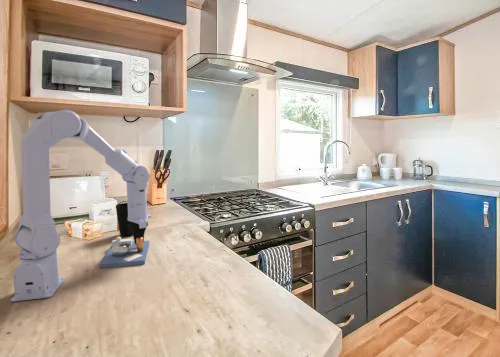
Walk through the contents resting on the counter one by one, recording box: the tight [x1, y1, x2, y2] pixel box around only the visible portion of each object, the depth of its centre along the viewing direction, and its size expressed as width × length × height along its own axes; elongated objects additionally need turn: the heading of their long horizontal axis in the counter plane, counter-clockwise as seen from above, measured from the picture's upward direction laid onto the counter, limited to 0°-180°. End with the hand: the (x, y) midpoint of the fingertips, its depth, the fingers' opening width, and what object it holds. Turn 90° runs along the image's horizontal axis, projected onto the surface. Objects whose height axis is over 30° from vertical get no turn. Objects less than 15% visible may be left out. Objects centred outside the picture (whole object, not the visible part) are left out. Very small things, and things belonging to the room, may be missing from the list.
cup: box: [115, 202, 133, 238], centre depth 111 cm, size 8×8×12 cm
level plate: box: [99, 236, 150, 269], centre depth 91 cm, size 18×12×4 cm, turn 15°
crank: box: [112, 237, 143, 256], centre depth 89 cm, size 9×5×4 cm, turn 110°
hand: (139, 244), depth 92 cm, fingers closed, pressing on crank
